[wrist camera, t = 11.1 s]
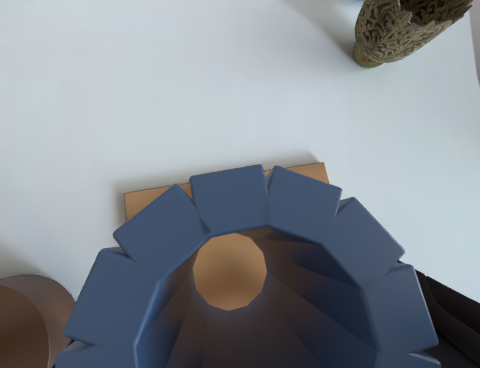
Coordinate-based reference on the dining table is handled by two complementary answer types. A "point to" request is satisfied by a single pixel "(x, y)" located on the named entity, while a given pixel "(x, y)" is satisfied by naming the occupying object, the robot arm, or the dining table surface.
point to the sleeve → (273, 292)
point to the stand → (32, 321)
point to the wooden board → (224, 253)
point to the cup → (401, 27)
